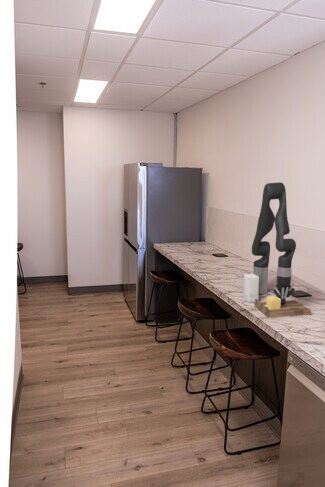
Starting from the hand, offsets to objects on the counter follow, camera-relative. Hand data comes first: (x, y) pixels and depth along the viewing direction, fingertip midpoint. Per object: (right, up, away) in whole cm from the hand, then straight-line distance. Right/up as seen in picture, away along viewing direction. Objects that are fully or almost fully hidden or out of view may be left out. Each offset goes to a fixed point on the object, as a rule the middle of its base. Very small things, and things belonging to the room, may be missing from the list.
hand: (282, 304), depth 209 cm
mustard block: (-6, -1, -1) cm, 6 cm away
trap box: (0, -3, +1) cm, 4 cm away
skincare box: (-14, 0, +18) cm, 22 cm away
